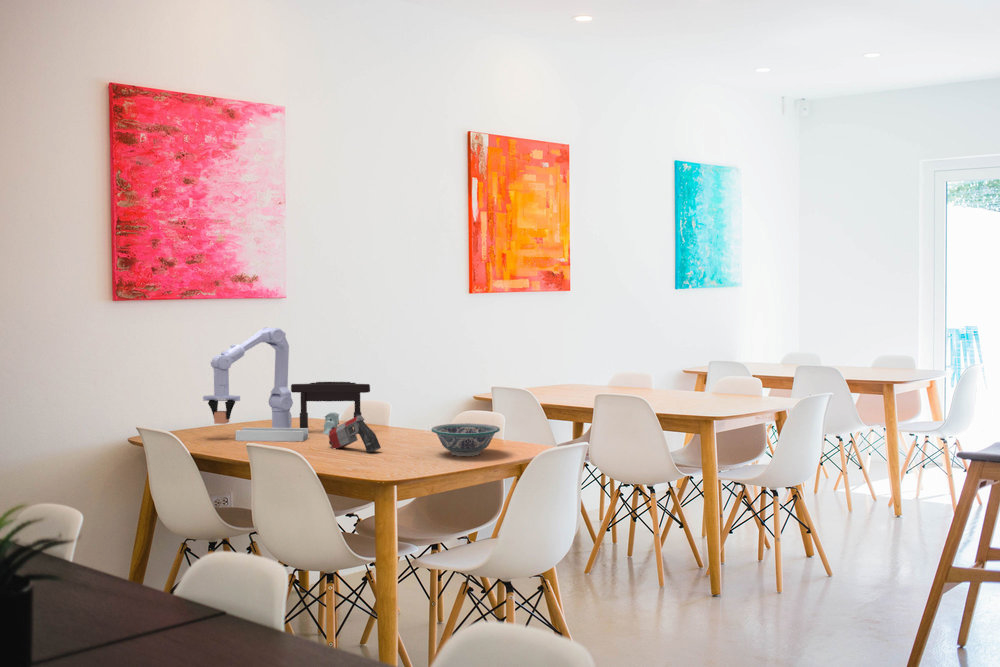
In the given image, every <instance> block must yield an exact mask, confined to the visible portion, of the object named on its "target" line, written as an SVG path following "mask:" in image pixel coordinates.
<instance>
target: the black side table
mask: <svg viewBox="0 0 1000 667" xmlns="http://www.w3.org/2000/svg"><path fill="white" fill-rule="evenodd" d="M290 392H291V393H296V394H297V393H299V394H300V412H299V428H308V429H309V413H308V404H307V403H308V402H354V412H353V416H354V415H356V414H359V415H361V416H362V411H361V394H362V393H363V394H365V393H370V392H371V385H370V384H369V383H356V382H351V381H316V382H310V383H292V384H290ZM339 417H340V414H339V413H337V412H329V413H327V414H326V415H325V416H324V419H325V420H324V421H325V422H324V424H323V429H324V430H323V431H322V434H323V433H324V434H326V435H325V436H329V431H330V430H332V427H334V426H335V428H336V427H337V426H339V425H340V424H339V423H340V422H339V420H340V419H339ZM353 430H354V432H355V428H354V427H353ZM324 434H323V435H324Z"/></svg>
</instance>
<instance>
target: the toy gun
mask: <svg viewBox="0 0 1000 667" xmlns="http://www.w3.org/2000/svg"><path fill="white" fill-rule="evenodd" d="M354 428H355V432H354ZM357 435H358V436H359V437H360V439H361V441H362V442H363V444H364V447H365V450H366V453H368V452H369V453H373V452H376V451H378V450H380V449H381V448H382V446H381V444H380V442H379V440H378V437H377V435H376V433H375V432H374V431H373V430H372V429H371V428H370V427H369V426H368V425H367V423H365V417H363V416H362V414H361V415H359V414H356V415H354V414H353V418H351V419H348V420H347V421H345V422H343V423H341V424H338V425H337V427H336V428H335V426H334V427H332V430H330V431H329V435H328V439H329V441H328V442H329V445H330V446H331V449H333V448H338V449H342V448H341V447H343V448H345V447H347V446H349V445H351V444H353V443H355V442H358V441H359V439H358V436H357Z"/></svg>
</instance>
